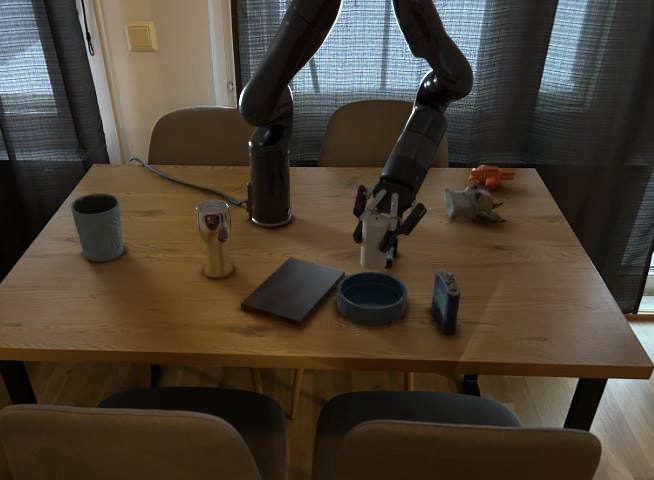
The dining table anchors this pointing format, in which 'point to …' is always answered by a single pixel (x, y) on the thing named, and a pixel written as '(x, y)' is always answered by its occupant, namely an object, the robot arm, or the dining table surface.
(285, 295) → the cutting board
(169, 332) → the dining table surface
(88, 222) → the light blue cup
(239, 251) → the dining table surface
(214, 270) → the beer glass
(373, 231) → the candle
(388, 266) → the knife
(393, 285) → the bowl
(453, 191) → the ceramic sculpture
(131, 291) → the dining table surface
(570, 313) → the dining table surface
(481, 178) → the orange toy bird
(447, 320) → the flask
